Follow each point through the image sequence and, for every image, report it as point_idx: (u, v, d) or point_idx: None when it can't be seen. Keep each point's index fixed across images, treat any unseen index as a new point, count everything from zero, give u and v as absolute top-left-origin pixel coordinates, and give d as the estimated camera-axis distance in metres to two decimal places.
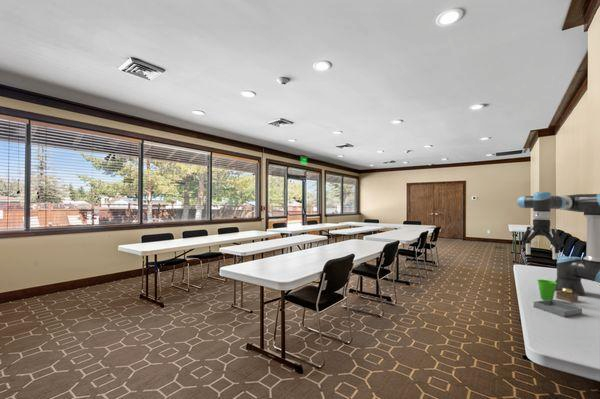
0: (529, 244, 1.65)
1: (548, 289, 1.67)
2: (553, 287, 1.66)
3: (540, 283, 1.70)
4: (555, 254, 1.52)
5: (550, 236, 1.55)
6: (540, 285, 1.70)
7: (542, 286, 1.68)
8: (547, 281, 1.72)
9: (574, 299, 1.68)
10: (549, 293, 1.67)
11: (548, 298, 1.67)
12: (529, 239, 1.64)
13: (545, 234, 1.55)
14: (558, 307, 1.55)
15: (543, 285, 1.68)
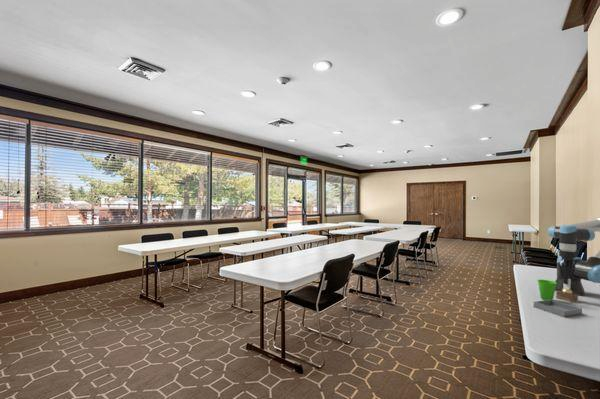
0: None
1: (548, 289, 1.67)
2: (553, 287, 1.66)
3: (540, 283, 1.70)
4: (565, 285, 1.71)
5: None
6: (540, 285, 1.70)
7: (542, 286, 1.68)
8: (547, 281, 1.72)
9: (574, 299, 1.68)
10: (549, 293, 1.67)
11: (548, 298, 1.67)
12: None
13: None
14: (558, 307, 1.55)
15: (543, 285, 1.68)
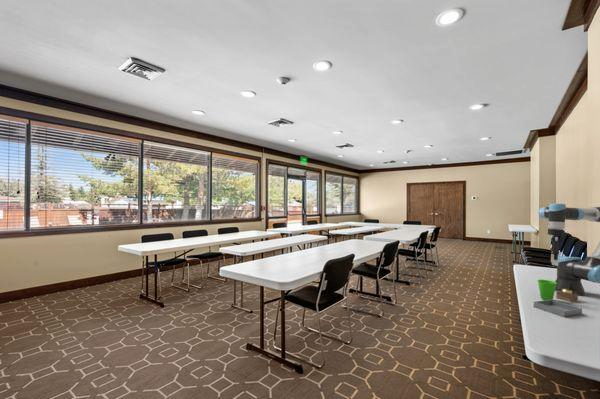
0: None
1: (548, 289, 1.67)
2: (553, 287, 1.66)
3: (540, 283, 1.70)
4: (554, 260, 1.65)
5: None
6: (540, 285, 1.70)
7: (542, 286, 1.68)
8: (547, 281, 1.72)
9: (574, 299, 1.68)
10: (549, 293, 1.67)
11: (548, 298, 1.67)
12: (552, 248, 1.75)
13: (552, 242, 1.69)
14: (558, 307, 1.55)
15: (543, 285, 1.68)
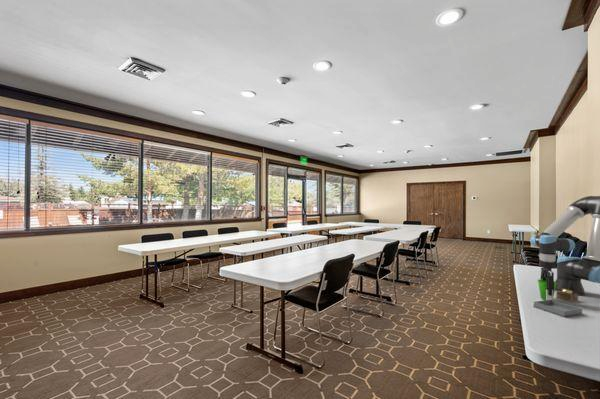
0: None
1: None
2: None
3: (540, 283, 1.70)
4: (549, 296, 1.65)
5: None
6: (540, 285, 1.70)
7: (542, 286, 1.68)
8: None
9: (574, 299, 1.68)
10: None
11: None
12: None
13: (544, 275, 1.68)
14: (558, 307, 1.55)
15: (543, 285, 1.68)
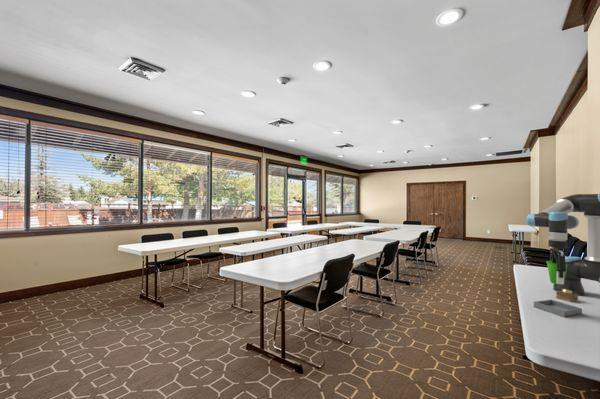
0: None
1: None
2: None
3: (549, 265, 1.53)
4: (559, 278, 1.48)
5: None
6: (549, 267, 1.53)
7: (552, 268, 1.51)
8: None
9: (574, 299, 1.68)
10: None
11: None
12: None
13: (555, 256, 1.51)
14: (558, 307, 1.55)
15: (553, 266, 1.51)
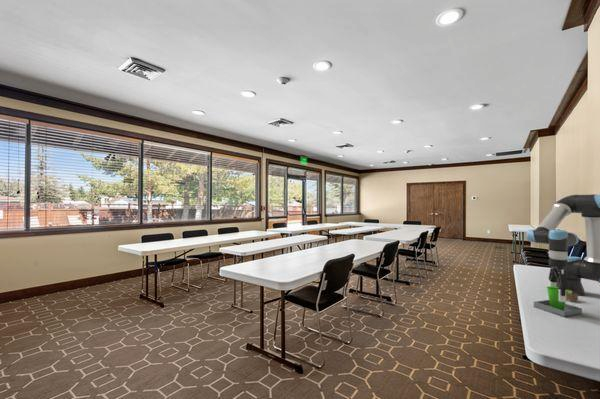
0: (554, 283, 1.58)
1: (558, 297, 1.50)
2: None
3: (550, 290, 1.53)
4: (561, 296, 1.46)
5: None
6: (550, 293, 1.53)
7: (552, 294, 1.51)
8: (557, 289, 1.55)
9: (574, 299, 1.68)
10: (560, 302, 1.50)
11: (559, 307, 1.50)
12: (551, 278, 1.58)
13: (555, 274, 1.50)
14: None
15: (553, 292, 1.51)
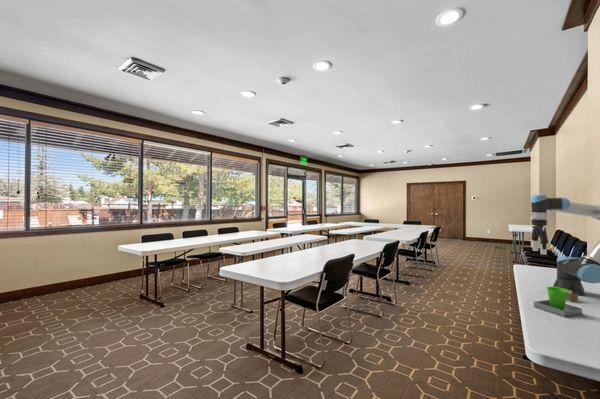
0: (536, 242, 1.84)
1: (558, 298, 1.49)
2: (564, 296, 1.49)
3: (550, 291, 1.52)
4: (543, 250, 1.72)
5: None
6: (550, 293, 1.53)
7: (553, 295, 1.51)
8: (557, 289, 1.55)
9: (574, 299, 1.68)
10: (560, 302, 1.49)
11: (559, 308, 1.50)
12: (534, 237, 1.83)
13: (537, 232, 1.76)
14: None
15: (553, 293, 1.51)
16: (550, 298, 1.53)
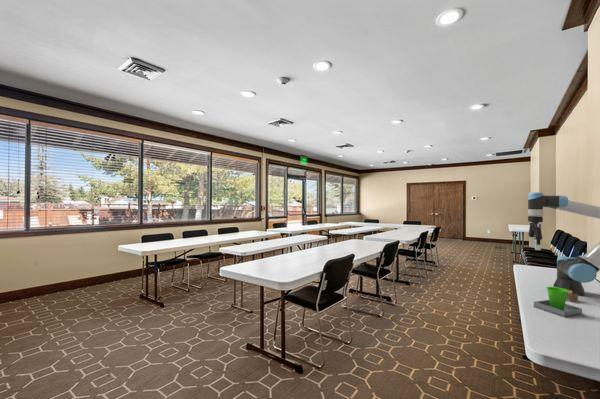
0: (533, 238, 1.89)
1: (558, 298, 1.49)
2: (564, 295, 1.49)
3: (550, 291, 1.52)
4: (537, 245, 1.77)
5: None
6: (550, 293, 1.53)
7: (553, 295, 1.51)
8: (557, 289, 1.55)
9: (574, 299, 1.68)
10: (560, 302, 1.50)
11: (559, 308, 1.50)
12: (530, 233, 1.89)
13: (533, 228, 1.82)
14: None
15: (553, 293, 1.51)
16: (550, 298, 1.53)
